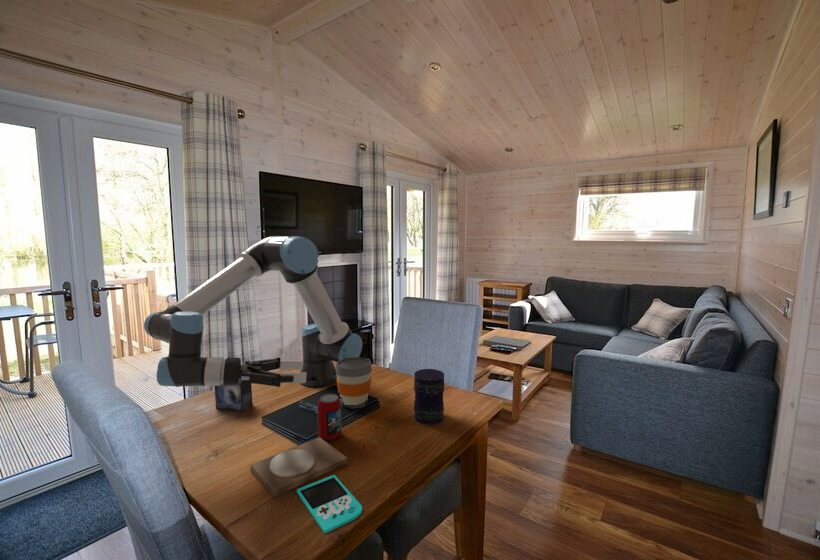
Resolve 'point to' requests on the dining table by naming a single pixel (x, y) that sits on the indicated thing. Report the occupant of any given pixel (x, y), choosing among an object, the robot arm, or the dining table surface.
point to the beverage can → (329, 417)
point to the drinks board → (297, 466)
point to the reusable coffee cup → (353, 379)
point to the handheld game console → (330, 503)
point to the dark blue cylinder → (428, 396)
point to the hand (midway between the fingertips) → (304, 371)
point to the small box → (234, 397)
